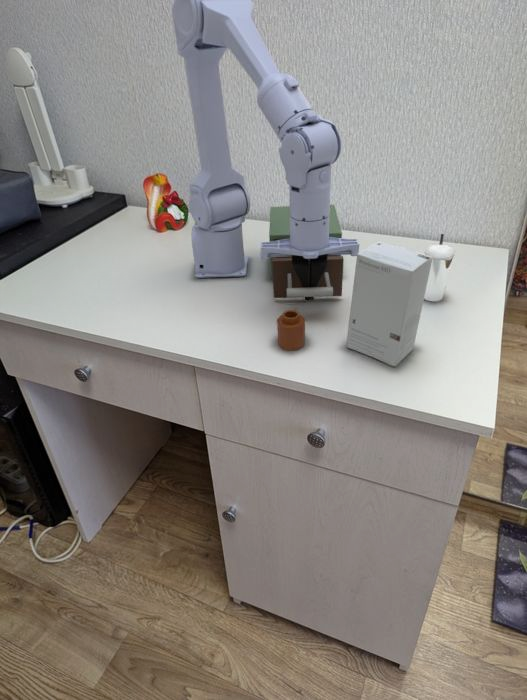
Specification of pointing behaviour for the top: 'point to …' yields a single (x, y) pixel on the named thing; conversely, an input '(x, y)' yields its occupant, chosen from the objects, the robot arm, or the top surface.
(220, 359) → the top surface
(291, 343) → the spice bottle
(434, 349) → the top surface
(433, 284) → the milkshake
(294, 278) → the drawer
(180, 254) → the top surface
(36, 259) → the top surface
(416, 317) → the cosmetic box
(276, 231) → the cabinet
